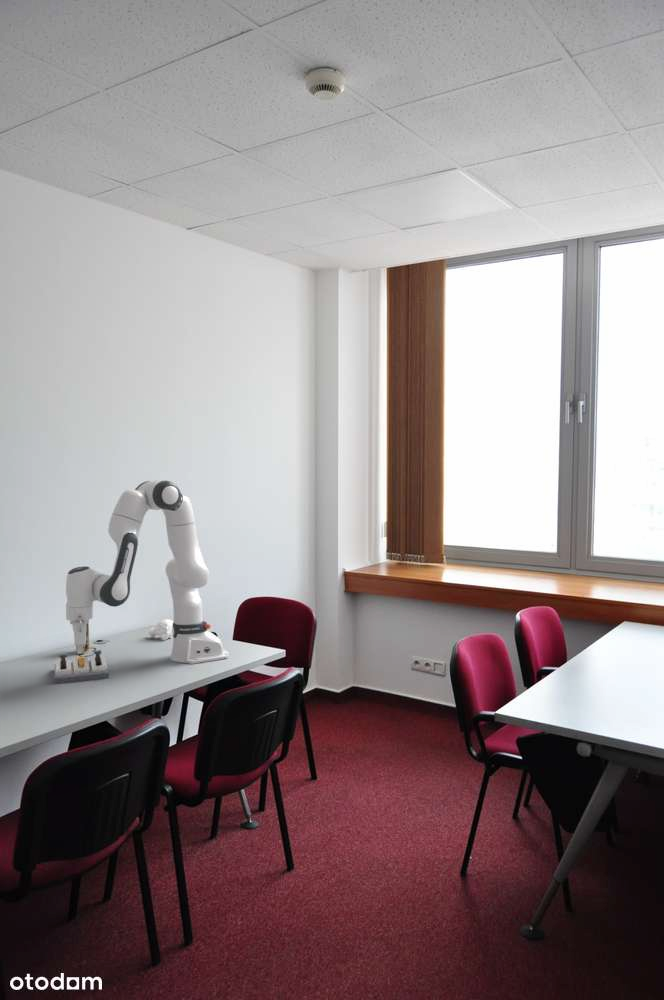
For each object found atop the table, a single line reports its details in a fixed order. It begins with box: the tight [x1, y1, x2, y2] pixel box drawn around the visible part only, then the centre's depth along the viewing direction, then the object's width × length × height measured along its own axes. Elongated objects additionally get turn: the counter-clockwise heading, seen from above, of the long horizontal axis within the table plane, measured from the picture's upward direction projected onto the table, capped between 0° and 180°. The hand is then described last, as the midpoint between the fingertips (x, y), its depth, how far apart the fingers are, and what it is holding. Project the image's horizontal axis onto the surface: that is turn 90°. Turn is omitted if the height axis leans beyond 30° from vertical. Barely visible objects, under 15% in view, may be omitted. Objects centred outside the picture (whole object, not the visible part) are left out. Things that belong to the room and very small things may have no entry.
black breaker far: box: [59, 653, 67, 668], centre depth 269 cm, size 2×2×5 cm
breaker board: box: [54, 655, 110, 685], centre depth 268 cm, size 19×18×4 cm
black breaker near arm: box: [93, 649, 102, 664], centre depth 273 cm, size 2×2×5 cm
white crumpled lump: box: [148, 618, 174, 641], centre depth 320 cm, size 6×8×12 cm
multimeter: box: [75, 622, 97, 658], centre depth 297 cm, size 15×10×20 cm
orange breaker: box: [76, 656, 86, 667], centre depth 264 cm, size 2×2×5 cm
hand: (79, 652), depth 258 cm, fingers closed
